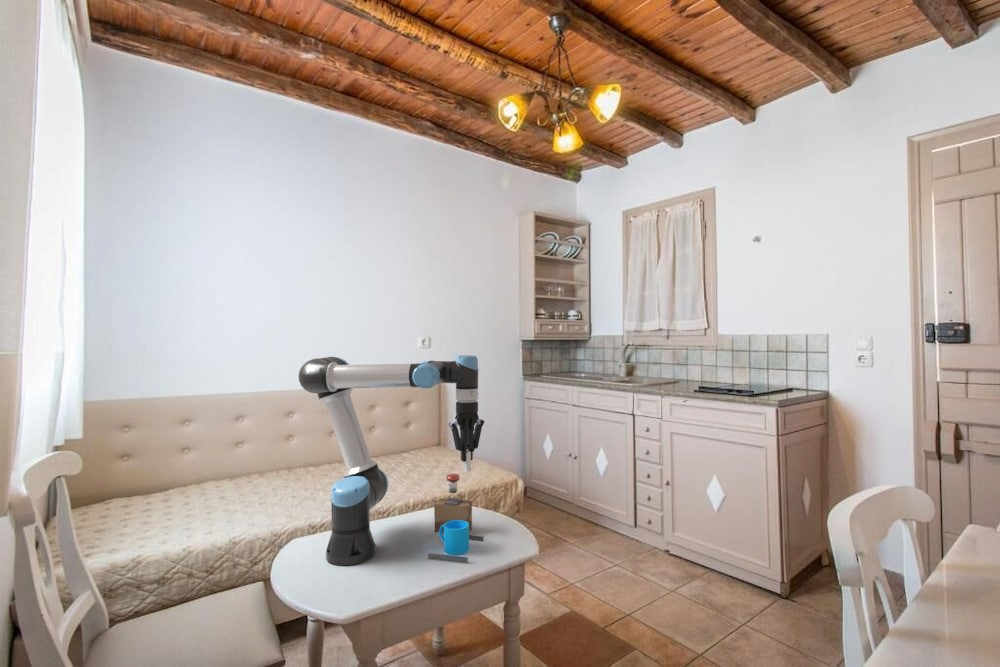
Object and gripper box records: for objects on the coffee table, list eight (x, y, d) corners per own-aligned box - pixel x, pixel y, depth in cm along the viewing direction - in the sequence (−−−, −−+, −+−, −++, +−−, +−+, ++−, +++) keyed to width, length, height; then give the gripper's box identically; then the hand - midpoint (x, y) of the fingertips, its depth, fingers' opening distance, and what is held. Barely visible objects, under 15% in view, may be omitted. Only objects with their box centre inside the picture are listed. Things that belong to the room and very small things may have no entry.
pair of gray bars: (427, 558, 152) (427, 553, 152) (447, 536, 168) (447, 532, 168) (467, 563, 148) (467, 558, 148) (483, 540, 165) (483, 536, 165)
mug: (474, 548, 158) (474, 523, 158) (456, 557, 152) (456, 531, 152) (448, 539, 166) (448, 515, 166) (430, 547, 160) (430, 522, 160)
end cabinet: (466, 535, 169) (466, 505, 169) (434, 532, 172) (434, 502, 172) (472, 528, 175) (471, 499, 175) (441, 525, 178) (440, 496, 178)
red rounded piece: (444, 493, 172) (444, 477, 172) (449, 489, 176) (449, 473, 176) (456, 494, 170) (456, 477, 170) (461, 490, 175) (461, 474, 175)
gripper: (455, 403, 157) (455, 476, 157) (489, 400, 165) (488, 470, 165) (444, 401, 164) (444, 470, 164) (477, 398, 171) (477, 465, 171)
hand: (466, 470), depth 164 cm, fingers closed
